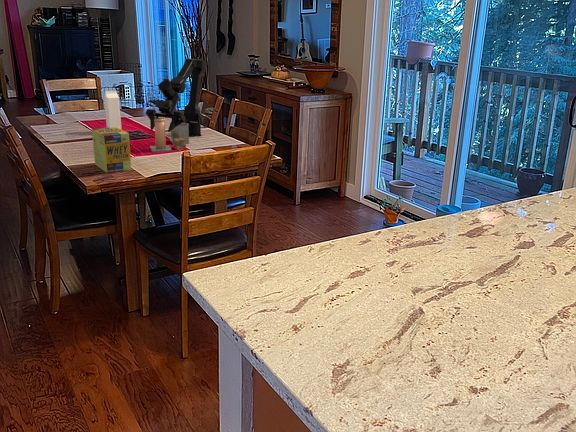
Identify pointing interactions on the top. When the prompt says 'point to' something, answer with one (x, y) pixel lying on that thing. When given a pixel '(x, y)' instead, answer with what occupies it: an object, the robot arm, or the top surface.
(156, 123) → the canister
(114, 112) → the milk
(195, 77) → the robot arm
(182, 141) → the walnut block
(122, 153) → the protein box
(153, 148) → the pad
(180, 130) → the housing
